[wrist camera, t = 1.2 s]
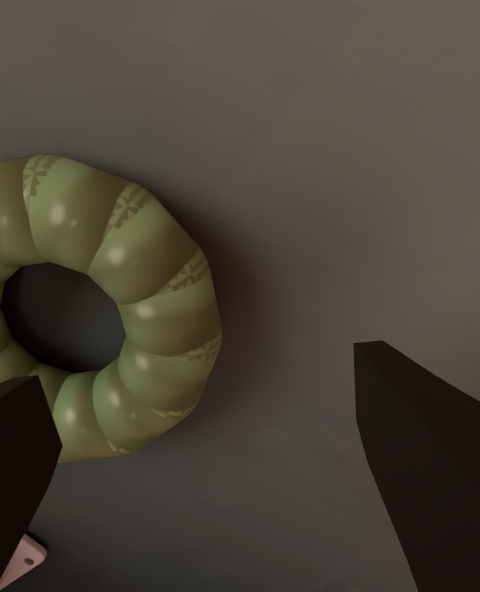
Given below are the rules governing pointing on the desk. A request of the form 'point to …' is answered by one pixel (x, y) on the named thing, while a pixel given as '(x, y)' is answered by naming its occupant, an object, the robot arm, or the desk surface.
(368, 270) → the desk surface
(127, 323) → the ring
